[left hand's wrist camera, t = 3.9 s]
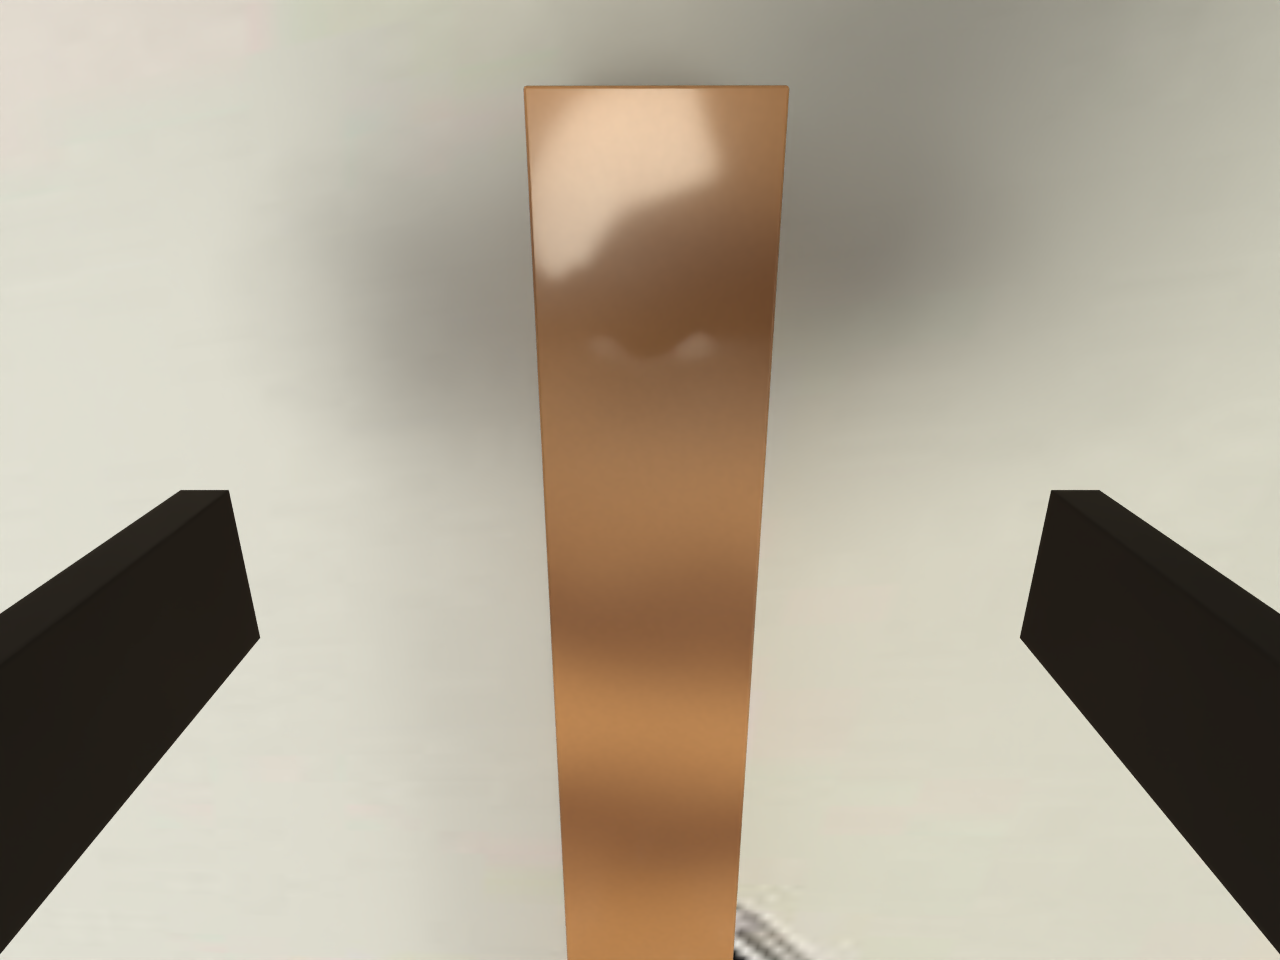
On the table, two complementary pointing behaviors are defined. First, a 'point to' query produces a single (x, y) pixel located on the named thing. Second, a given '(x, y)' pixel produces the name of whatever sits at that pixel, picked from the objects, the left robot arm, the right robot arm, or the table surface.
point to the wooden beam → (653, 488)
